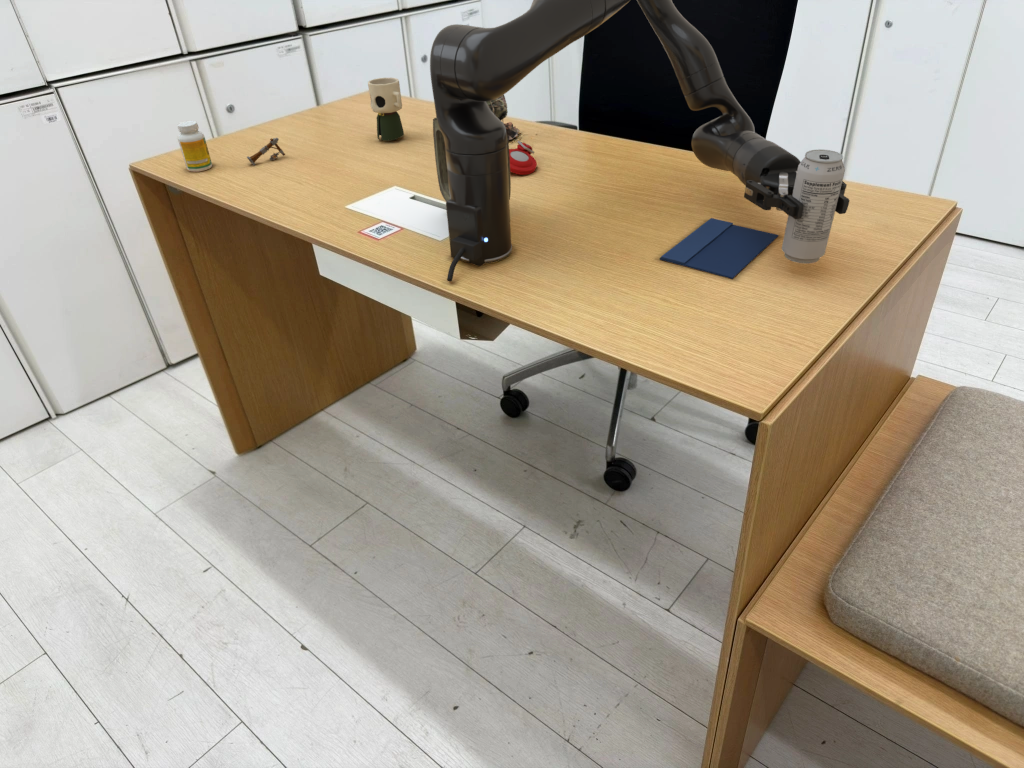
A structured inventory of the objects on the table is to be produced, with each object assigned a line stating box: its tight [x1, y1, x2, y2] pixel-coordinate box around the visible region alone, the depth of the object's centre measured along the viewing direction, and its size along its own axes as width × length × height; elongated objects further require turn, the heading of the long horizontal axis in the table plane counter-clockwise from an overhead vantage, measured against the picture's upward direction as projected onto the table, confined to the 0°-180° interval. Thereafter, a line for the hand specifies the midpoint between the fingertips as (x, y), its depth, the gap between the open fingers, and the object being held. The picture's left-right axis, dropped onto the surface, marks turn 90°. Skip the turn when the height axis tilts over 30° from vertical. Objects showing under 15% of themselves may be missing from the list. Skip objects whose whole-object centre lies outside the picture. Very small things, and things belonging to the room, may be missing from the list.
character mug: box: [367, 77, 405, 142], centre depth 164 cm, size 11×7×13 cm, turn 47°
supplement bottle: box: [177, 120, 213, 173], centre depth 153 cm, size 5×5×10 cm
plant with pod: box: [486, 94, 521, 142], centre depth 160 cm, size 8×11×20 cm
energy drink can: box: [781, 149, 846, 265], centre depth 101 cm, size 6×6×15 cm
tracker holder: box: [509, 140, 538, 176], centre depth 148 cm, size 12×4×10 cm
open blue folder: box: [659, 217, 779, 280], centre depth 113 cm, size 18×12×1 cm, turn 142°
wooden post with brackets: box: [246, 137, 286, 166], centre depth 158 cm, size 2×8×4 cm, turn 126°
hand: (822, 209), depth 98 cm, fingers closed on energy drink can, 6 cm apart
